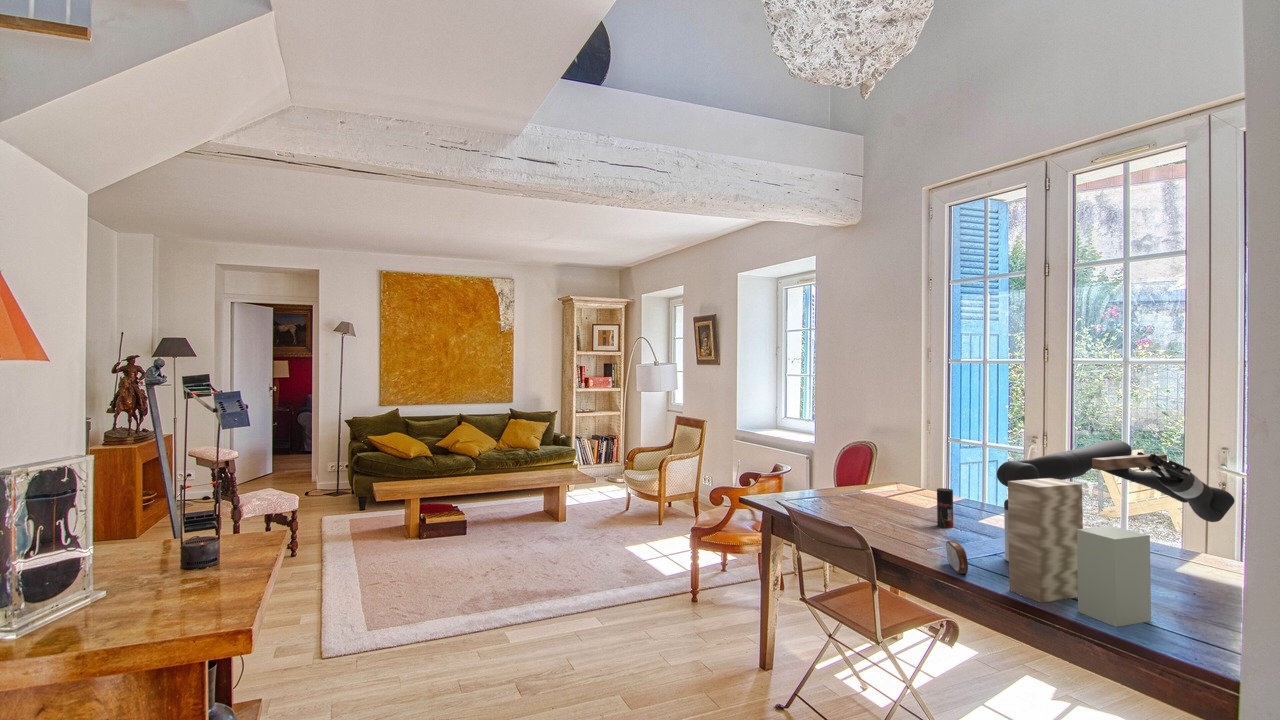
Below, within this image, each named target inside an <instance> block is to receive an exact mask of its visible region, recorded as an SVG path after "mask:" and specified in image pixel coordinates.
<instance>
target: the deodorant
mask: <svg viewBox="0 0 1280 720" xmlns="http://www.w3.org/2000/svg"><path fill="white" fill-rule="evenodd" d="M936 518H937V519H936V520H937V524H936V525H937V527H938V526H939V528H942V527H943V528H942V529H953V528H954V490H953V489H952V488H944V487H941V488H936Z"/></svg>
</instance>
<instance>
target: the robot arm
mask: <svg viewBox="0 0 1280 720" xmlns="http://www.w3.org/2000/svg"><path fill="white" fill-rule="evenodd" d="M1144 454H1145V453H1143V452H1142V451H1138V452H1137V453H1136V455H1144ZM1149 454H1150V457H1149V460H1150V461H1151V462H1153V463H1154V464H1155V465H1158V466H1149V467H1138V469H1139V470H1140V471H1137V470H1133V468H1126V469H1114V470H1102V471H1103V472H1105V473H1107V474H1109V475H1112V476H1116V477H1118V478H1121V479H1123V480H1127V481H1129V482H1133V483H1136V484H1139V485H1141V486H1144V487H1148V488H1150V489H1153V490H1155V491H1157V492H1160V493H1162V494H1164V495H1166V496H1167V497H1169V498H1172V499H1174V500H1177V501H1179V502H1180V503H1188V504H1189V506H1190V509H1192V511H1193V513H1195V514H1196V515H1197V516H1198V517H1199V518H1200V519H1202V520H1203V521H1206V522H1208V523H1209V522H1210V523H1217V522H1219V521H1222V520H1223V518H1224V517H1225V516H1226V515H1227V513H1228V512H1229V510H1230V509H1231V508H1232V507H1233V506H1234V504H1235V501H1236V500H1235V498H1234V496H1233V495H1232V494H1231V493H1230V492H1228V491H1227V490H1225V489H1221V488H1219V487H1218V488H1217V487H1214V486H1209V485H1207V484H1206V483H1205V482H1203V481H1202V480H1201V479H1199V477H1198V476H1197V475H1196V474H1194V473H1192V472H1191V471H1192V469H1190V468H1188V467H1186V466H1184V465H1182V464H1180V463H1178V462H1175V461H1174V460H1167V461H1166V460H1165V459H1161V458H1159V457H1158V456H1157V455H1155V454H1156V453H1149ZM1130 455H1132V446H1131V445H1130V444H1129V443H1128V442H1125V441H1122V440H1118V439H1117V440H1116V439H1109V440H1108V439H1107V440H1102V441H1099V442H1097V443H1094V444H1091V445H1088V446H1085V447H1084V446H1083V447H1080V448H1076V449H1071V450H1065V451H1064V450H1063V451H1060V452H1056V453H1052V454H1047V455H1041V456H1037V457H1034V458H1031V459H1029V458H1028V459H1020V460H1008V461H1005V462H1003V463H1002V464H1001V465H999V467H997V468H998V469H996V470H997V471H996V479H998V481H999V483H1000V484H1001V485H1003V486H1004V487H1007V488H1008V481H1016V480H1029V479H1043V478H1053V479H1059V480H1064V481H1065V480H1069V479H1070V480H1071V479H1075V478H1079V477H1081V476H1083V475H1084V474H1086V473H1088V472H1089V471H1090V470H1091V469H1092V458H1104V457H1117V456H1130ZM1003 509H1004V511H1003V515H1004V516H1003V517H1004V521H1003V522H1004V560H1005V561H1007V562H1008V563H1009V528H1008V498H1007V499H1005V500H1004V502H1003Z"/></svg>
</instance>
